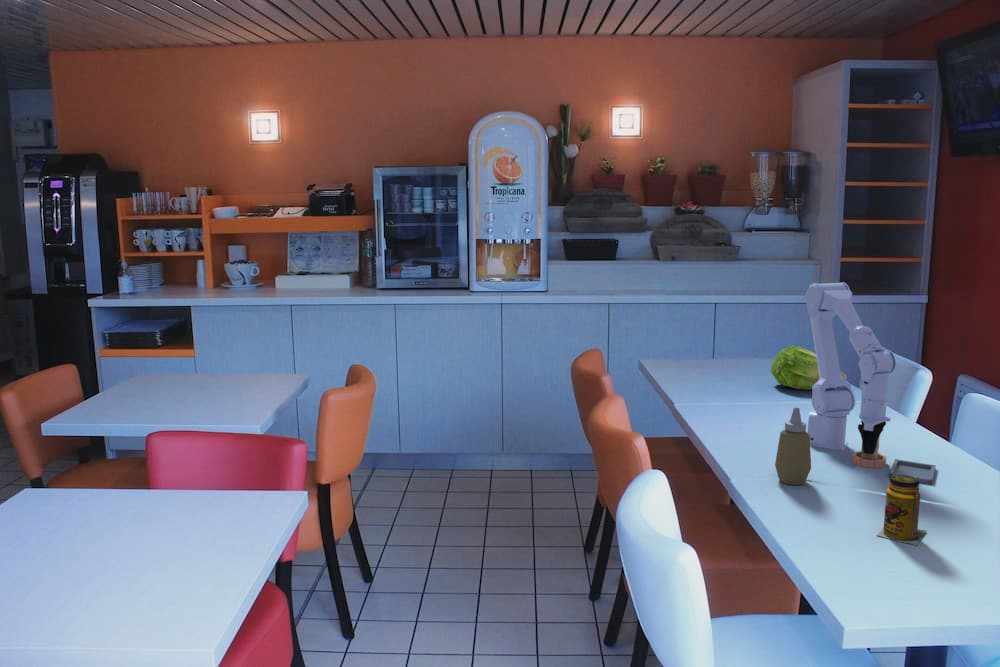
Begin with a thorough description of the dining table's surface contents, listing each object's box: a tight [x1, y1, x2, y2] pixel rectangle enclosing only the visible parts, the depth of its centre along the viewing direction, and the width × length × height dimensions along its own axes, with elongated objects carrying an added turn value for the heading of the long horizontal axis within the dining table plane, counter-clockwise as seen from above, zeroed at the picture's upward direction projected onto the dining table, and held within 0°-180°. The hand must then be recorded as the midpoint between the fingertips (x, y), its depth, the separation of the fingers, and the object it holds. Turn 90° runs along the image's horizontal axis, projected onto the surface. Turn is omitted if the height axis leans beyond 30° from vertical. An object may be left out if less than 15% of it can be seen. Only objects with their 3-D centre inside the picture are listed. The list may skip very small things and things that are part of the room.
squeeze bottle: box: [774, 407, 812, 486], centre depth 187 cm, size 8×8×18 cm
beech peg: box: [861, 434, 881, 460], centre depth 199 cm, size 4×4×8 cm
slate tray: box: [888, 458, 937, 486], centre depth 192 cm, size 9×12×2 cm
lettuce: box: [770, 345, 847, 391], centre depth 276 cm, size 15×24×16 cm
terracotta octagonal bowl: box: [851, 450, 887, 469], centre depth 200 cm, size 8×8×2 cm
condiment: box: [876, 475, 928, 546], centre depth 158 cm, size 7×8×12 cm
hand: (869, 451), depth 199 cm, fingers closed on beech peg, 3 cm apart
